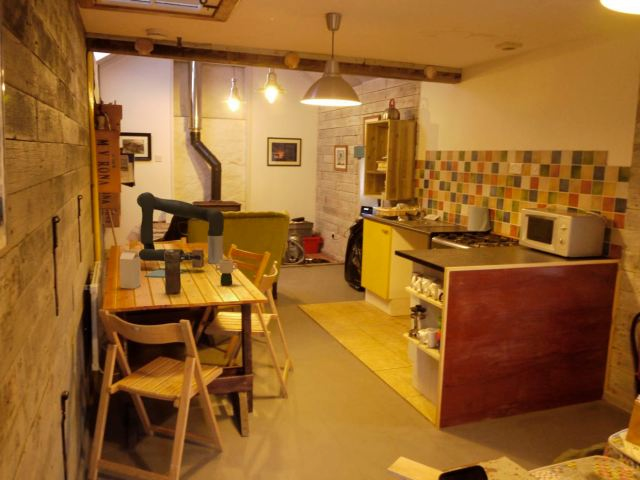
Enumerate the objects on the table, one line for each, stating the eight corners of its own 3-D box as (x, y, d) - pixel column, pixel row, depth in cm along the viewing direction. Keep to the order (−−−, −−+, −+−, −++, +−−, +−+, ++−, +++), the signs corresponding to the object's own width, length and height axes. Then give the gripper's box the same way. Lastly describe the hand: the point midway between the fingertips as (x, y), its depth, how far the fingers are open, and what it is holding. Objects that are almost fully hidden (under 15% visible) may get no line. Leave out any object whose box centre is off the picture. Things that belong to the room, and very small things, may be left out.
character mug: (236, 282, 285) (235, 258, 283) (237, 285, 278) (237, 261, 276) (215, 283, 282) (214, 259, 280) (216, 286, 275) (216, 261, 273)
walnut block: (195, 265, 313) (195, 248, 311) (203, 266, 312) (203, 249, 310) (192, 267, 308) (191, 250, 306) (200, 267, 307) (200, 250, 305)
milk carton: (133, 289, 268) (132, 251, 265) (120, 288, 269) (119, 250, 266) (141, 285, 274) (139, 249, 272) (128, 284, 276) (127, 248, 273)
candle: (167, 290, 266) (166, 250, 263) (182, 290, 266) (181, 250, 263) (163, 294, 258) (162, 253, 255) (179, 294, 259) (178, 253, 256)
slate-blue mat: (157, 270, 310) (157, 269, 310) (183, 272, 308) (183, 270, 308) (144, 276, 295) (144, 275, 295) (172, 278, 292) (172, 276, 292)
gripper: (168, 251, 303) (197, 252, 301) (178, 247, 317) (206, 248, 315) (169, 264, 304) (198, 265, 302) (179, 259, 318) (206, 260, 316)
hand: (202, 256), depth 309 cm, fingers closed on walnut block, 5 cm apart
